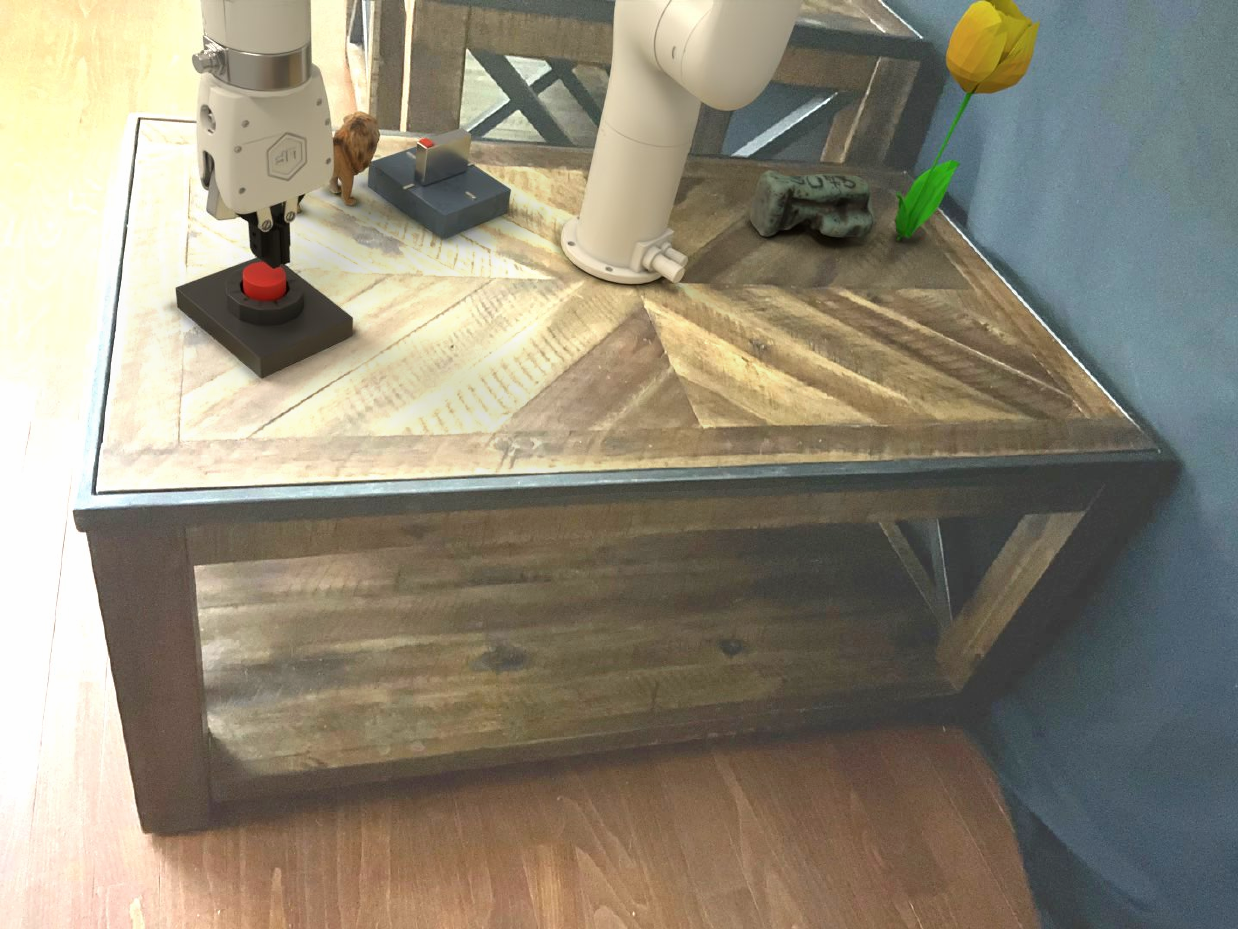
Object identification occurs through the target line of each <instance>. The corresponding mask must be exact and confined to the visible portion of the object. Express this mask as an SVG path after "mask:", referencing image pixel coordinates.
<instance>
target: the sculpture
mask: <svg viewBox="0 0 1238 929" xmlns="http://www.w3.org/2000/svg"><path fill="white" fill-rule="evenodd" d="M872 200H873V199H872V188H871V187H870V185H869V184H868V183H867V182H866V180H865V179H864V178H861V177H859V176H857V175H852V174H851V175H850V174H838V173H837V174H833V173H822V174H821V173H820V174H806V175H784V174H781V173H780V172H778V171H776V170H767V171H764V173H763V174H761V176H760V177H759V178H758V181H757V184H756V189H755V192H754V197H753V200H752V204H751V208H750V212H749V219H750V222H751V224H752V226H753V227H754V228H755V229H756V231H757V232H758V233H759V234H760V236H762V237H766V238H768V237H771V236H774V235H776V233H778V232H779V231H789V230H791V229H792V228H794V226H796V225H798V224H800V223H802V222H805V223H808V224H809V227H810V228H811V229H812V230H816V231H819V232H820V234H822V235H825V236H828V237H831V238H832V237H834V238H848V237H854V238H866V237H867V236H868V235H869V234H870V233H871V232H872V230H873V227H874V225H875V220H876V219H875V214H874V213H875V212H874V210H873V205H872Z"/></svg>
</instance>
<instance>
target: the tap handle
mask: <svg viewBox="0 0 1238 929" xmlns="http://www.w3.org/2000/svg"><path fill="white" fill-rule="evenodd" d="M472 136H473V135H472V133H470V132H469V131H468V130H466V129H465V128H462V127H460V128H457V129H454V130H451V131H448V132H445V133H441V134H438V135H435V136H431V137H428V138H427V137H424V138H421V139H419V141H417V142H416V147H417V148H416V160H415V172H414V180H415V181H417V182H418V183H419V184H421V185H422V186H426V185H429V184H432V183H435V182H437V181H440V180H443V179H446V178H449V177H451V176H454V175H457V174H460V173H463V172H466V171H467V169H468V161H469V159H470V153H471V152H470V151H471V142H472ZM469 162H470V161H469Z"/></svg>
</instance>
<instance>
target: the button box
mask: <svg viewBox="0 0 1238 929" xmlns="http://www.w3.org/2000/svg"><path fill="white" fill-rule="evenodd" d="M258 262H264V261H262V260H261V259H259V258H257V257H256V256H255V257H254V258H251V259H249V260H246V261H243V262H241V263H238V264H236V265H235V264H234V265H233V266H230V267H227V268H224V269H221V270H219V271H216V272H213V273H211V274H207V275H204V276H202V277H199V278H197V279H195V280H192V281H189V282H186V283H184V284H181V285H179V286H176V287H175V298H176V306H177V308H178V309H179V310H180V311H181V312H183V313H184V314H185V316H188V318H189V319H191V320H192V321H193V322H194V323H195V324H197V325H198V326H199V327H200V328H201V329H203V330H204V331H205V332H206V333H207V334H209V335H210V337H211V338H212V339H214V340H216V341H217V343H219V344H220V345H221V346H222V347H223V348H225V349H226V350H227V351H228V352H229V353H231V354H232V355H233V356H234V357H235V358H237V359H238V360H239V361H240V362H242V364H243V365H245V366H246V367H247V368H248V369H250V370H251V371H252V372H253V373H254V374H255V375H257V376H258V377H259V378H260V379H262V378H265V377H267V376H269V375H272V374H274V373H276V372H278V371H281V370H282V369H284V368H287V367H289V366H291V365H293V364H295V363H297V362H299V361H302V360H304V359H306V358H308V357H310V356H312V355H314V354H318V353H320V352H322V351H324V350H325V349H328V348H329V347H332V346H335V345H336V344H338V343H341V342H343V341H345V340H347V339H349V338H351V337H353V331H354V330H353V327H354V317H353V316H352V315H351V314H349V313H348V312H346V310H345V309H343V308H341V307H340V306H339V305H338V304H336V303H335V302H334V301H333V300H331V299H330V298H329V297H328V296H326V295H325V294H324V293H322V292H321V291H320V290H319V289H317V288H316V287H314V286H313V285H312V284H311V283H310V282H308V281H307V280H306V279H305V278H304V277H302V276H301V275H299V274H298V273H297V272H296V271H294V270H293V269H292V268H290V267H289V266H288V265H287V264H285V265H283V264H281V265H280V267H281V268H282V269H283V270H284V271H285V273H286V293H285V295H284V296H283V297H282V298H280V299H278V300H275V301H259V300H255V299H251V298H249V297H248V296H247V295H246V294H245V293H244V289H243V271H244V269H245V268H246V267H247V266H249V265H250V264H253V263H258Z"/></svg>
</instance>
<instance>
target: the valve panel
mask: <svg viewBox="0 0 1238 929" xmlns="http://www.w3.org/2000/svg"><path fill="white" fill-rule="evenodd" d="M416 148H417V146H414V147H411V148H407V149H404V150H402V151H399V152H396V153H393V154H389V155H386V156H384V157H380V158H378V159H375V160H372V161H371V163H370V166H369V167H368V173H367V174H368V175H367V187H368V188H369V189H372V190H373V191H374V192H375V193H377V194H378V195H379V196H381V197H382V198H384V199H385V200H386V201H388V202H390V203H391V204H392V205H394V206H395V207H396V208H398V209H399V210H401V212H403V213H405V214H406V215H408V216H410V218H412V219H413V220H415V221H416V222H417V223H419V224H420V225H422V226H423V227H424V228H426V229H427V230H428V231H430V232H431V233H433V234H435V236H437V237H438V238H440V239H441V240H444V239H445V240H446V239H448V238H450V237H452V236H455V235H457V234H460V233H461V232H464V231H467V230H469V229H471V228H474V227H476V226H478V225H481V224H484V223H486V222H488V221H490V220H493V219H496V218H498V217H500V216H502V215H505V214H507V213H508V212H509V206H510V199H511V193H512V189H511V188H509V187H508V186H507V185H505V184H504V183H503V182H501V181H500V180H498V179H496V178H495V177H493V176H492V175H490V174H488V173H487V172H485V171H484V170H483V169H481V168H480V167H479V166H477V164H478V163H477V162H476V161H475V160H474V161H468V169H467V171H466V172H463V173H460V174H457V175H454V176H451V177H449V178H446V179H443V180H440V181H437V182H435V183H432V184H429V185H426V186H422V185H421V184H419V183H418V182H417V181H415V180H414V172H415V160H416Z"/></svg>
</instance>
